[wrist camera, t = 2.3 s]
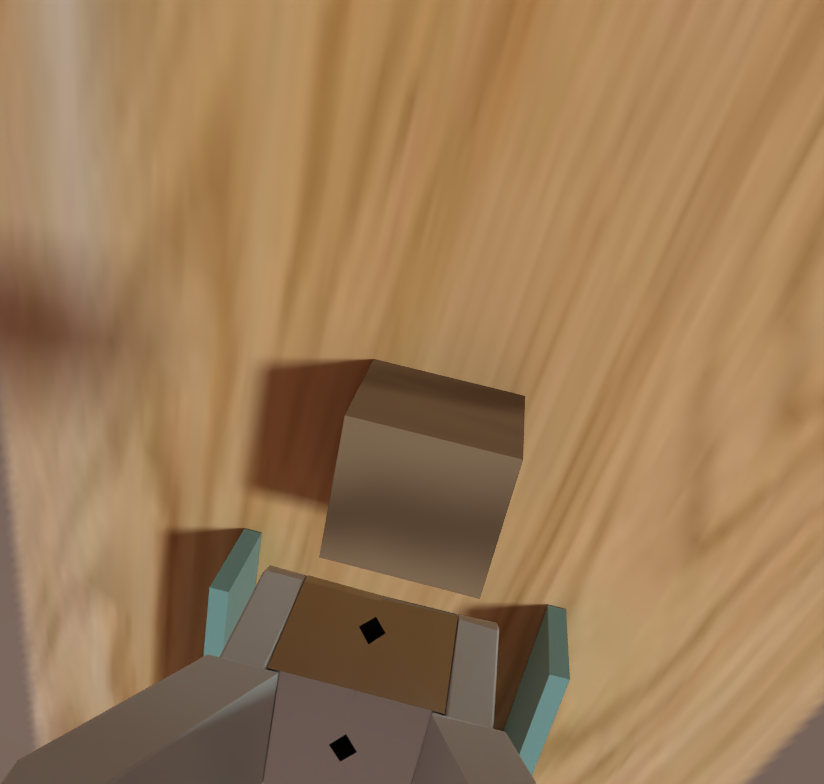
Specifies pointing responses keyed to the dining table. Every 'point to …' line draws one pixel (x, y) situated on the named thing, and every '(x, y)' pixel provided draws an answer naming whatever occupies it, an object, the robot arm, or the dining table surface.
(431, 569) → the walnut tile block
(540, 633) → the box
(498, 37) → the dining table surface
